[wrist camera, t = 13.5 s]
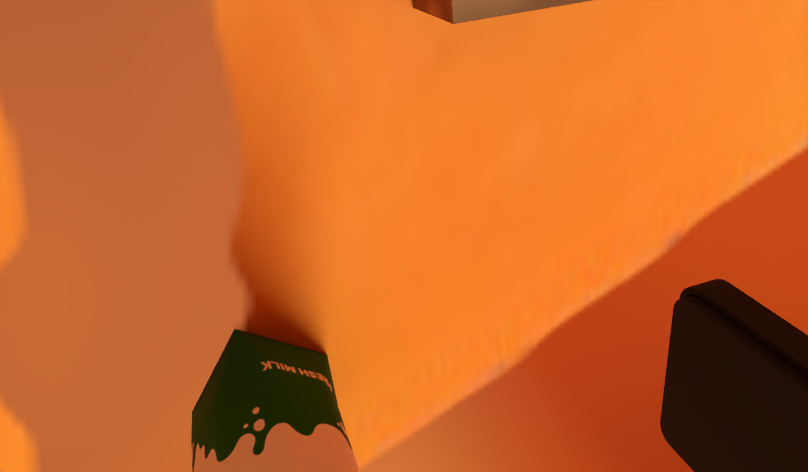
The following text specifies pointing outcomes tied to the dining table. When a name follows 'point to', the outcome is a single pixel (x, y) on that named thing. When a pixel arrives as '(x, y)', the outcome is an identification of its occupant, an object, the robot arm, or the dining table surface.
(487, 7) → the rack
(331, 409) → the milk carton
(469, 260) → the dining table surface
